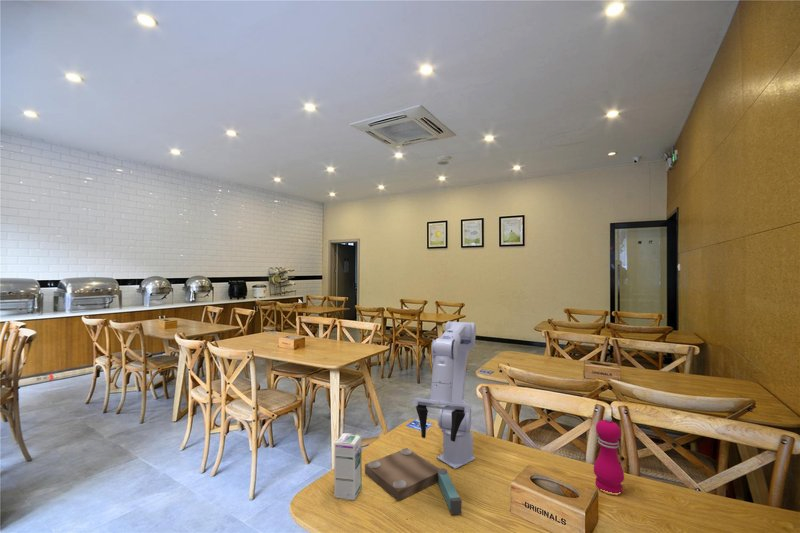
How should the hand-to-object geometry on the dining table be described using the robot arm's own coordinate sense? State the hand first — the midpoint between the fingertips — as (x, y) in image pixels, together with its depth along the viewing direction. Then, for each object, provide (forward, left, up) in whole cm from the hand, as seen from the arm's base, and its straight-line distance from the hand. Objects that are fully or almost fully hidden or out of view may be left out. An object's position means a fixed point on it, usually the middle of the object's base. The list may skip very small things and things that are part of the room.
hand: (438, 439), depth 88 cm
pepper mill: (-42, +24, -17) cm, 51 cm away
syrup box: (+16, -18, -17) cm, 29 cm away
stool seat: (-1, -15, -16) cm, 22 cm away
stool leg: (-4, 0, -16) cm, 17 cm away
